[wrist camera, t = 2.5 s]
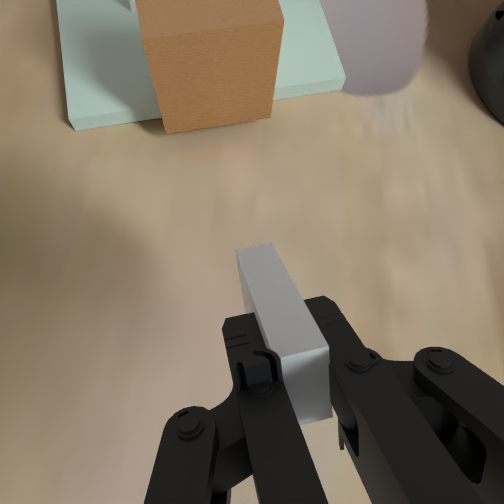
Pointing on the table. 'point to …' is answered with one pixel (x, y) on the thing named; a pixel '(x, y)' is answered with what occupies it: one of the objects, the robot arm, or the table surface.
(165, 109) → the cardboard box
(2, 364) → the table surface
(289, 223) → the table surface
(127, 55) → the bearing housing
